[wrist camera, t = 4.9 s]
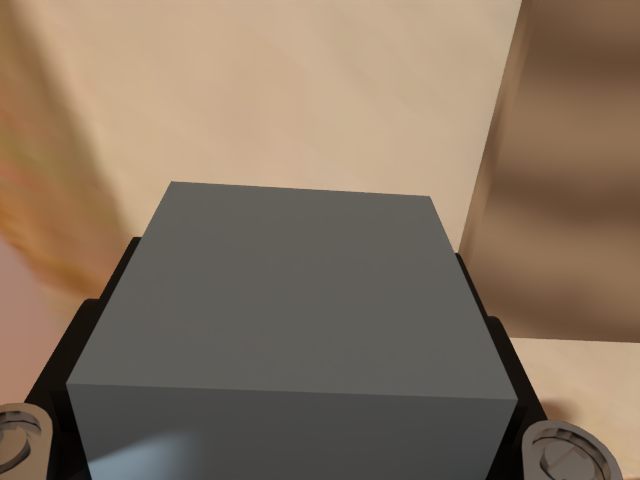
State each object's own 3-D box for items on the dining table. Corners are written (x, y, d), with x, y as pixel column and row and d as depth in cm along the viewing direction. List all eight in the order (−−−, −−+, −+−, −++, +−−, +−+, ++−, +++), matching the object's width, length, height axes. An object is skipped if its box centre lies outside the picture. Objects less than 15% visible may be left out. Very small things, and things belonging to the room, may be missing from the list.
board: (529, -29, 21) (548, -24, 19) (850, -2, 22) (896, 4, 20) (442, 312, 30) (451, 335, 29) (669, 322, 31) (690, 344, 30)
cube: (170, 181, 10) (65, 383, 6) (429, 196, 10) (517, 399, 6) (187, 368, 12) (125, 601, 8) (391, 375, 13) (433, 605, 8)
